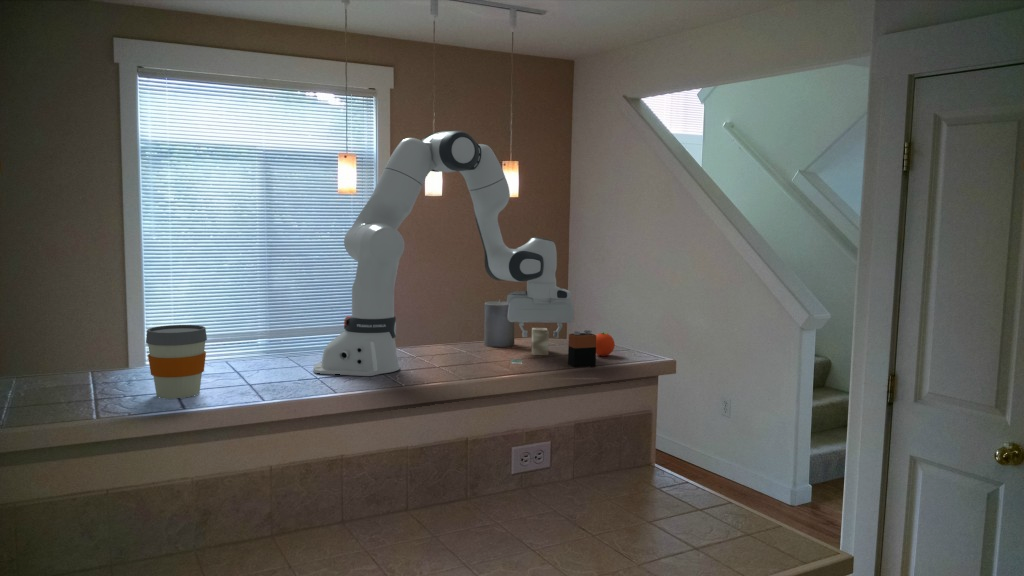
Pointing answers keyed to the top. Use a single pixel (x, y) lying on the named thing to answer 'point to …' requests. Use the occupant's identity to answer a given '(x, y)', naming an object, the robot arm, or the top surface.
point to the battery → (582, 349)
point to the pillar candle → (498, 325)
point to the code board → (516, 361)
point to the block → (540, 341)
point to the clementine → (604, 344)
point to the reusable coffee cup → (176, 359)
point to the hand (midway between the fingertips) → (540, 337)
